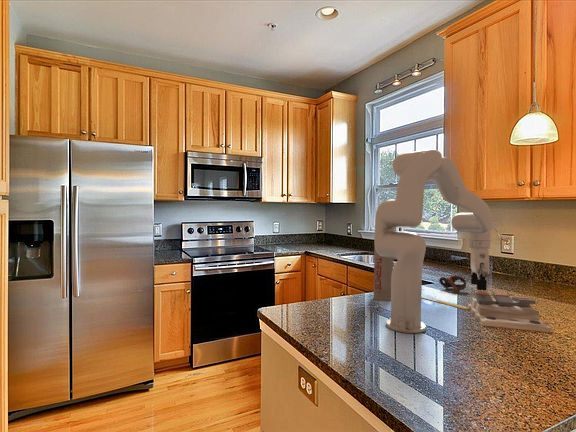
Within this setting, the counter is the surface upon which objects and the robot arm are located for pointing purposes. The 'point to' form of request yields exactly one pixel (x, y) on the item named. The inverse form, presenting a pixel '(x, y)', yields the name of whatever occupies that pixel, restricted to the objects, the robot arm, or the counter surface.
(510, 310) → the switch unit
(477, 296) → the rocker left
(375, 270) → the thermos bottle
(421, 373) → the counter surface
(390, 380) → the counter surface
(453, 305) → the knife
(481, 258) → the robot arm
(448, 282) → the brown looped piece
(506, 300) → the rocker middle
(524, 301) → the rocker right
